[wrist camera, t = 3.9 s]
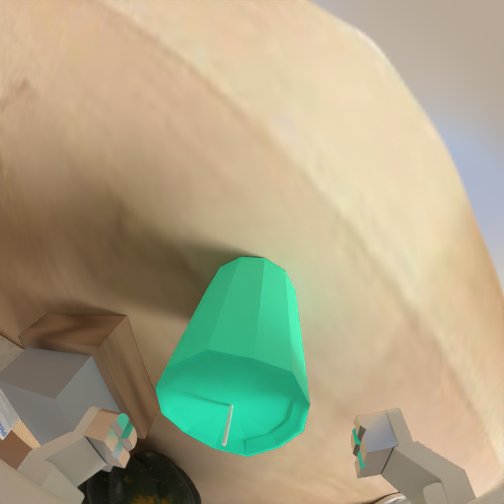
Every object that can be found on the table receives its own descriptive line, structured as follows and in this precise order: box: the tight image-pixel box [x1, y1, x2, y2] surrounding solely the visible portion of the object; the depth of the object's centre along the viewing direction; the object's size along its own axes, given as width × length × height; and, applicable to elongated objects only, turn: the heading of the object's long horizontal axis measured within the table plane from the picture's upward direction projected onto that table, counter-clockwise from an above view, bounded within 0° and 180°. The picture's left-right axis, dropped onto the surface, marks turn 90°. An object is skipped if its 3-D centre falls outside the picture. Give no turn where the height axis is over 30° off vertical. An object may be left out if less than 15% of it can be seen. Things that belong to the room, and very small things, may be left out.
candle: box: [155, 257, 310, 457], centre depth 14 cm, size 6×6×12 cm
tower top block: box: [0, 347, 121, 472], centre depth 16 cm, size 8×8×5 cm
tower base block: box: [18, 314, 160, 439], centre depth 21 cm, size 10×10×5 cm
